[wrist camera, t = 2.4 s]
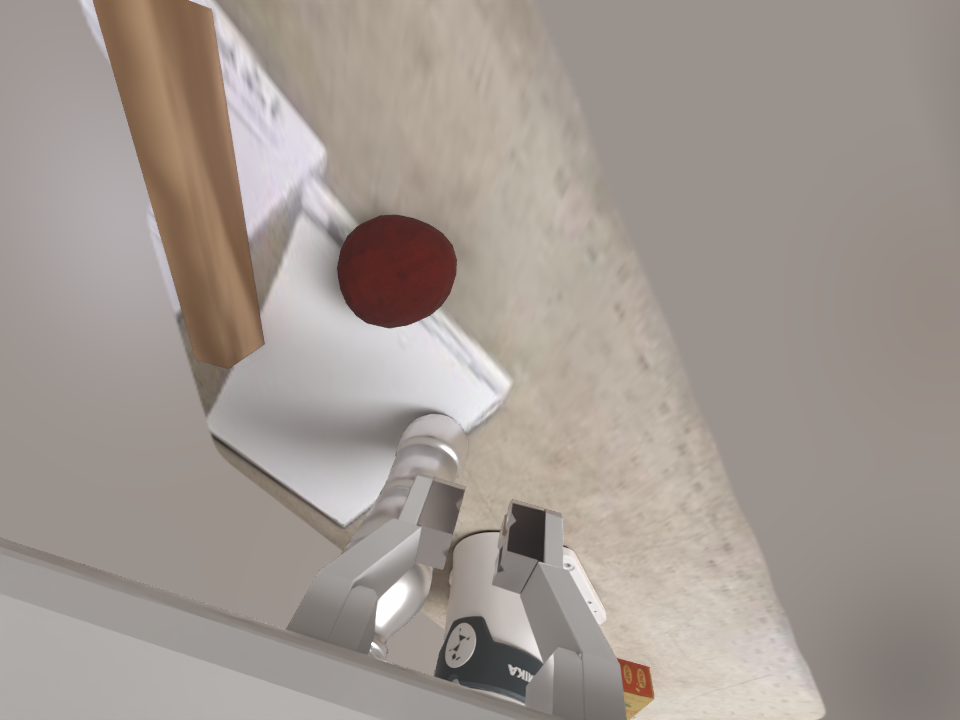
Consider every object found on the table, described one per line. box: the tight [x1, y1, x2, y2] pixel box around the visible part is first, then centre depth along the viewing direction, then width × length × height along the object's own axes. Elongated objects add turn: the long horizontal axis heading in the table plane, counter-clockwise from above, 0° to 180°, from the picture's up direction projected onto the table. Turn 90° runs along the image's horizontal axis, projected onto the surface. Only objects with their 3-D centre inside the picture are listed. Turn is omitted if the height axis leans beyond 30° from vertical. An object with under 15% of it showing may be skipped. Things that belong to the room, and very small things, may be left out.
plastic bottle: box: [341, 414, 469, 661], centre depth 28 cm, size 6×7×20 cm
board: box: [93, 0, 264, 369], centre depth 26 cm, size 3×24×4 cm, turn 169°
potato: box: [337, 215, 457, 328], centre depth 24 cm, size 7×8×7 cm
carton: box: [617, 658, 654, 720], centre depth 56 cm, size 8×16×4 cm, turn 172°
